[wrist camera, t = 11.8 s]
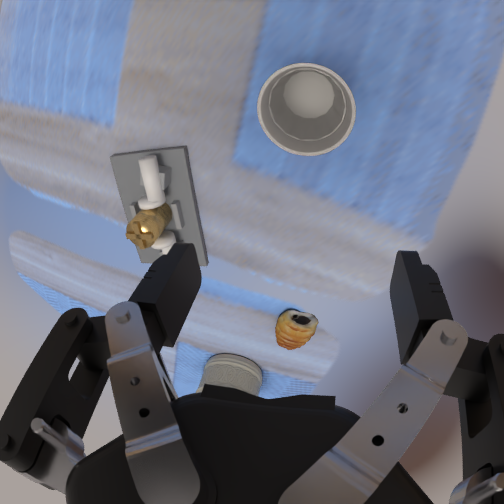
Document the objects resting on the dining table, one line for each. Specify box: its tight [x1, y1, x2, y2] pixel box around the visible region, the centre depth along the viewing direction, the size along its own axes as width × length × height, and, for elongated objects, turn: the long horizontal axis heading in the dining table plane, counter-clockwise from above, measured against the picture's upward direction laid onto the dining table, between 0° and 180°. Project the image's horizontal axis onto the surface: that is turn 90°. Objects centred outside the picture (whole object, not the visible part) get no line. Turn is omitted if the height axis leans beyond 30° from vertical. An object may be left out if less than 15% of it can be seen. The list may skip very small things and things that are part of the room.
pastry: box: [275, 310, 318, 350], centre depth 54 cm, size 9×7×4 cm
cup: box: [257, 63, 356, 156], centre depth 28 cm, size 8×8×12 cm
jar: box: [196, 354, 262, 396], centre depth 60 cm, size 13×13×18 cm
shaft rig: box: [110, 146, 209, 266], centre depth 44 cm, size 19×12×5 cm, turn 5°
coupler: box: [126, 202, 172, 249], centre depth 43 cm, size 4×4×7 cm
